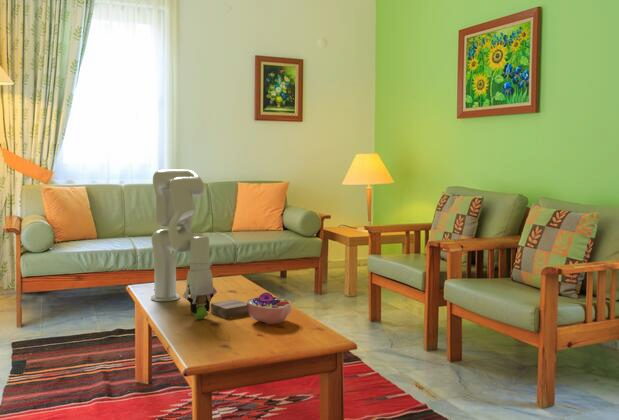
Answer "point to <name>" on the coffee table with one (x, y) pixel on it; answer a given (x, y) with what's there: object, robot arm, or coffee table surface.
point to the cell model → (269, 308)
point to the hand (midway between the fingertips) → (200, 311)
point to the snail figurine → (200, 307)
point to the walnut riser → (229, 308)
